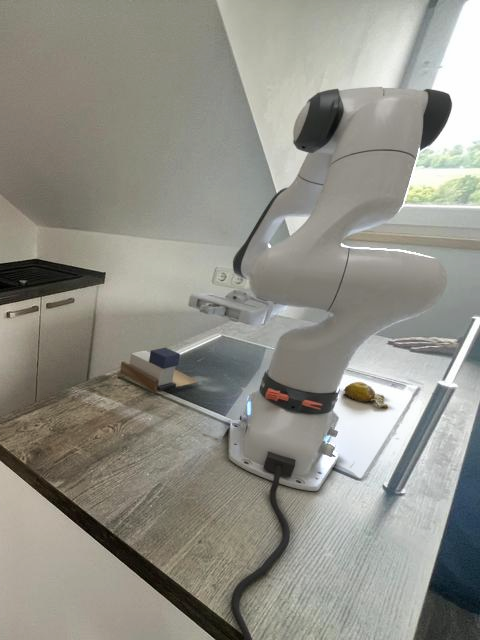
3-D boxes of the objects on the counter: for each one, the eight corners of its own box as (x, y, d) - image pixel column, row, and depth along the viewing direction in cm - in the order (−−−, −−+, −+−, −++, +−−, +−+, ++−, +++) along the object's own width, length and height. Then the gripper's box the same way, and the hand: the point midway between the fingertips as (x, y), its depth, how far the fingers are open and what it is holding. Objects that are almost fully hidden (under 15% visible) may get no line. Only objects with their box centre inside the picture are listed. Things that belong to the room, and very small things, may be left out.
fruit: (389, 410, 92) (395, 396, 90) (344, 400, 96) (349, 387, 94) (382, 396, 98) (388, 383, 96) (340, 387, 102) (345, 375, 101)
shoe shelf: (162, 366, 114) (164, 353, 112) (198, 385, 103) (201, 371, 101) (119, 375, 108) (121, 361, 107) (152, 396, 97) (155, 381, 96)
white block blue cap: (175, 387, 99) (182, 354, 96) (159, 391, 97) (165, 358, 94) (141, 369, 109) (146, 338, 106) (126, 372, 107) (130, 341, 103)
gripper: (211, 286, 115) (176, 290, 110) (280, 303, 98) (242, 308, 93) (206, 307, 117) (172, 311, 112) (273, 326, 100) (235, 333, 95)
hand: (204, 310), depth 102 cm, fingers closed
